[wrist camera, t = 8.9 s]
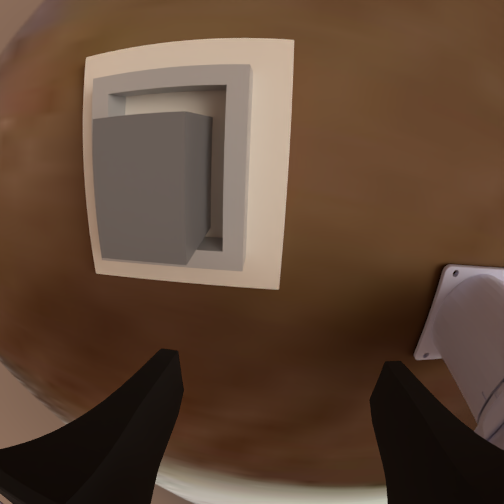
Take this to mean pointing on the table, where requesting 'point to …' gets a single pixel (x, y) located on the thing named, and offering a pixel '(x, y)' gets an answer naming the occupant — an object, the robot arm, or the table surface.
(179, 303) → the table surface
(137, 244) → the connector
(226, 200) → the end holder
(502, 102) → the table surface
